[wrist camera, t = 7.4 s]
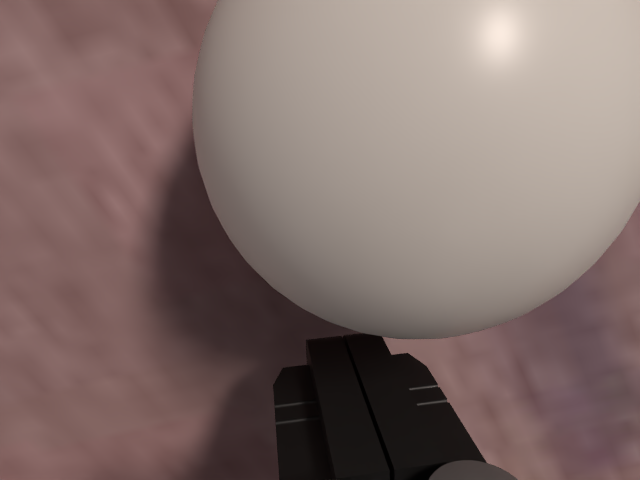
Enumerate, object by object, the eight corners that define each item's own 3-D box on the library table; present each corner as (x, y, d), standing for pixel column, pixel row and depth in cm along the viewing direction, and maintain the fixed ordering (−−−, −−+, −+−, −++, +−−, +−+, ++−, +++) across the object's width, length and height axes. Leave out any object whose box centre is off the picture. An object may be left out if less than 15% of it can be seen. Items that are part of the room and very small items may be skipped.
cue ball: (821, 257, 6) (592, -40, 8) (836, -65, 2) (382, -433, 4) (420, 389, 9) (353, 150, 12) (105, 398, 5) (114, 33, 8)
